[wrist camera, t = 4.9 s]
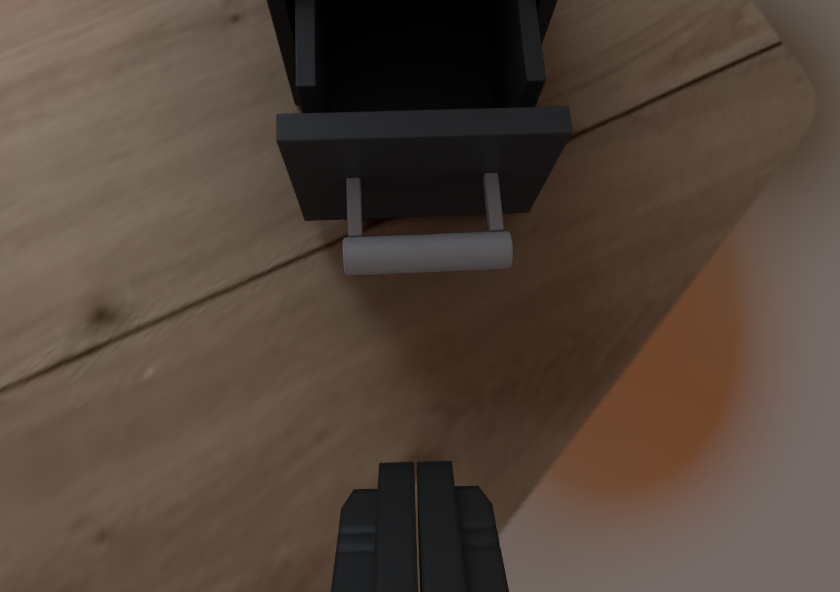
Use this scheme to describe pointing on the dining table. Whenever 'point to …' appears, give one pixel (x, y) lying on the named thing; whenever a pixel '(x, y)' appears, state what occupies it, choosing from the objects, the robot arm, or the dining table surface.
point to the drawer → (420, 125)
